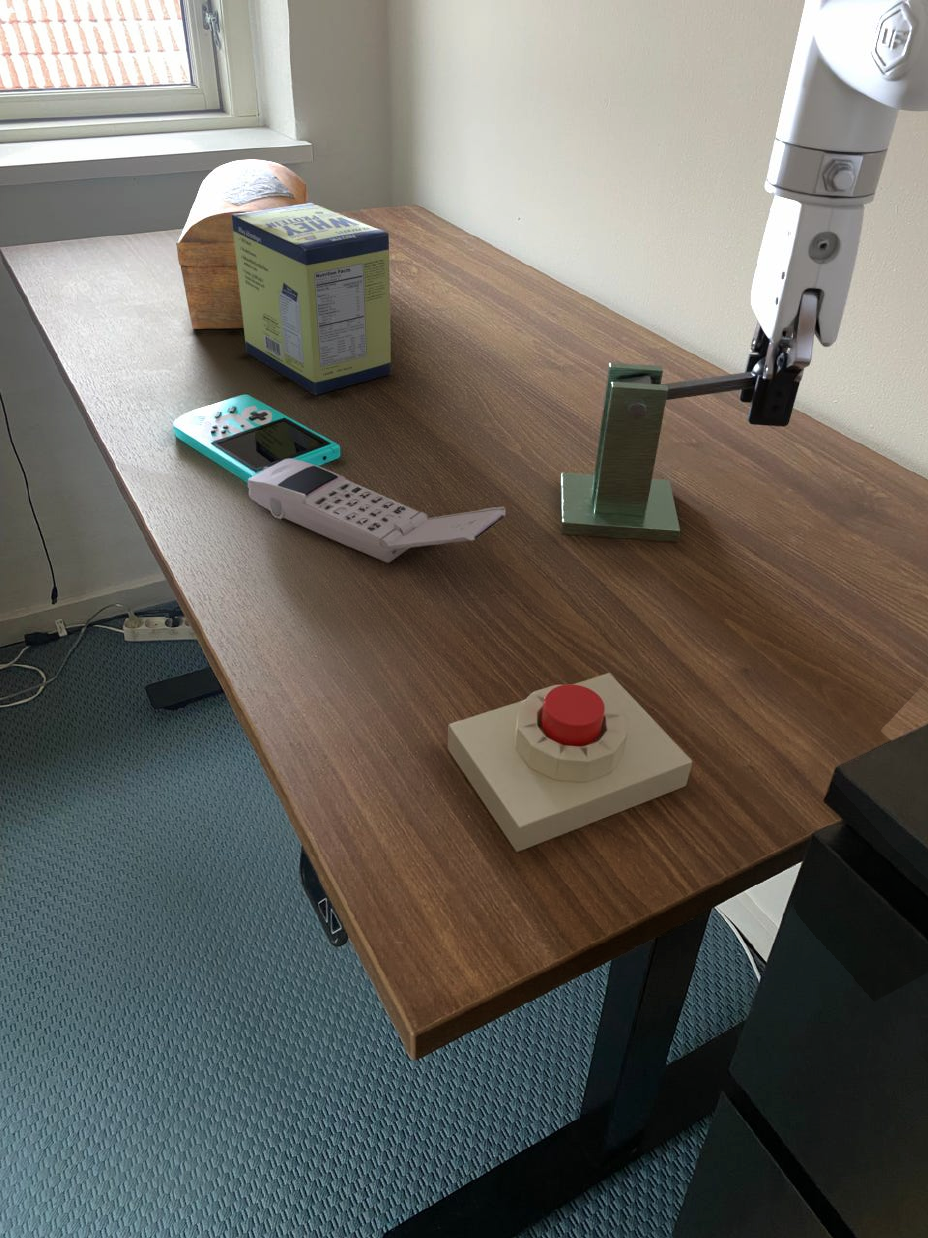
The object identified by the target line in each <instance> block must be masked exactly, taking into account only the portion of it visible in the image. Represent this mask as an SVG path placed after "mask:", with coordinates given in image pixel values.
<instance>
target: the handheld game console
mask: <svg viewBox="0 0 928 1238" xmlns="http://www.w3.org/2000/svg"><path fill="white" fill-rule="evenodd" d="M172 426H173V431H174V436H175V437H176V438H177V439H179V440H180V441H181V442H183V443H185V444H186V445H188V446H189V447H191V448H193V449H194V450H196V451H197V452H199V453H200V454H202V455H203V456H205V457H206V458H208V459H209V460H211V461H213V462H214V463H215V464H217V465H218V466H220V467H222V468H223V469H225V470H226V471H228V472H230V473H232V474H233V475H235V476H236V477H238V478H239V479H240V480H242V481H243V482H245V483H247V484H248V479H249V478H250V477H252V476H254V475H256V474H258V473H260V472H262V470H263V468H264V467H271V466H273V465H275V464H277V463H279V462H281V461H283V460H284V459H291V458H292V459H296V460H300V461H303V462H307V463H310V464H313V465H316V466H319V467H320V466H322V465H324V464H327V463H329V462H332V461H334V460H337V459H339V458H341V446H340V444H338V443H336V442H334V441H333V440H331V439H329V438H327V437H325V436H324V435H322V434H320V433H318V432H317V431H315V430H312V429H311V428H309V427H307V426H305V425H303V424H302V423H300V422H299V421H297V420H295V419H293V418H292V417H290V416H287V415H286V414H284V413H282V412H280V411H278V410H276V409H275V408H274V407H271V406H269V405H267V404H266V403H264V402H262V401H261V400H258V399H257V398H255V397H253V396H251V395H250V394H245V393H244V394H241V395H238V396H237V395H236V396H233V397H231V398H228V399H225V400H222V401H219V402H215V403H212V404H210V405H206V406H203V407H200V408H197V409H194V410H191V411H189V412H186V413H184V414H182V415H180V416H179V417H177V418H176V419H174V422H173V425H172Z"/></svg>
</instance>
